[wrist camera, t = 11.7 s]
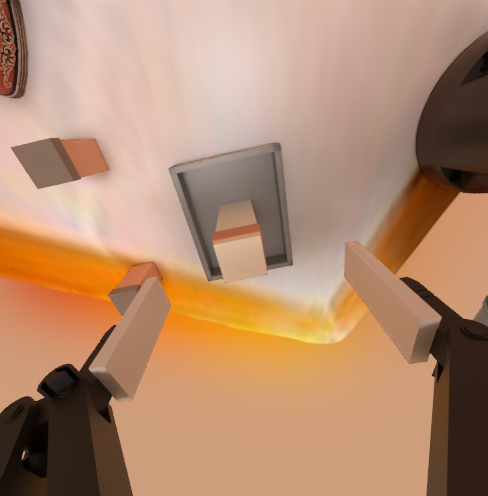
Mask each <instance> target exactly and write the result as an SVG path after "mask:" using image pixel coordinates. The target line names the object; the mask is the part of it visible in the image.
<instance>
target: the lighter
mask: <svg viewBox="0 0 488 496" xmlns="http://www.w3.org/2000/svg"><path fill="white" fill-rule="evenodd" d="M27 77H28V46H27V37H26V29H25V24H24V19H23V14H22V10H21V5H20V1H19V0H0V95H1V96H4V97H9V98H15V99H16V98H21V97H23V96H24V94H25V91H26V84H27Z"/></svg>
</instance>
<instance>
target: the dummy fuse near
mask: <svg viewBox="0 0 488 496" xmlns="http://www.w3.org/2000/svg"><path fill="white" fill-rule="evenodd" d="M11 149H12V150H13V152H14V154H15V155H16V157H17V158H18V160H19V161H20V163H21V164H22V166H23V167H24V169H25V170H26V172H27V173H28V175H29V176H30V178H31V179H32V181H33V182H34V184H35V185H36V187H37V188H38V189H40V188H45V187H49V186H53V185H58V184H62V183H67V182H71V181H75V180H79V179H81V177H84V176H88V175H91V174H95V173H98V172H102V171H105V170H109V168H108V166H107V164H106V162H105V160H104V158H103V156H102V153H101V151H100V149H99V147H98V145H97V143H96V141H95V139H68V140H60V139H59V138H49V139H45V140H40V141H36V142H32V143H28V144H24V145H19V146H15V147H11Z"/></svg>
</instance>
